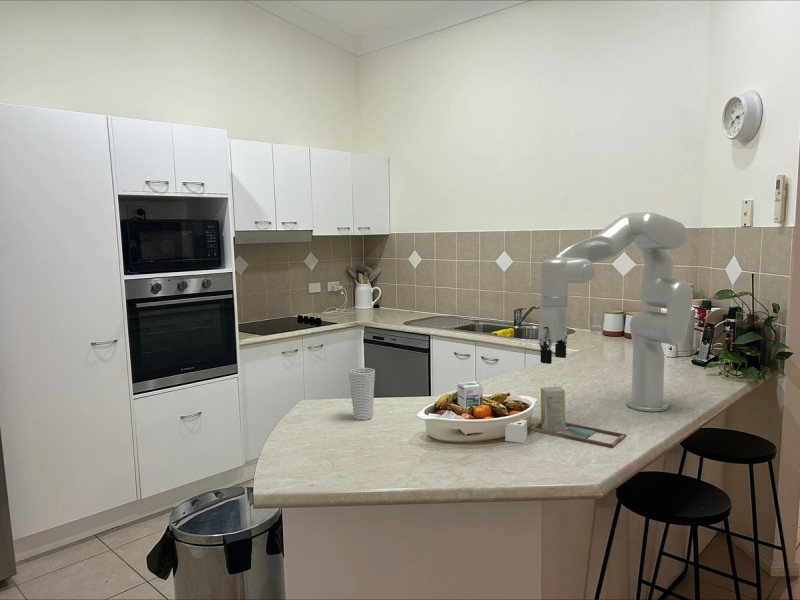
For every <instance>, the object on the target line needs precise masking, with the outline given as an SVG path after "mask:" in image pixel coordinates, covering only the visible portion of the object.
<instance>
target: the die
mask: <svg viewBox="0 0 800 600" xmlns="http://www.w3.org/2000/svg"><path fill="white" fill-rule="evenodd" d="M504 430H505V439H504V441H505V442H510V443H517V444H518V443H519V444H524V442H526V440H527V438H528V420H527V419H520V421H517V422H514V423H510V424H507V426H506V427H504Z"/></svg>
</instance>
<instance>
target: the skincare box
mask: <svg viewBox="0 0 800 600" xmlns="http://www.w3.org/2000/svg"><path fill="white" fill-rule="evenodd" d="M540 415H541V416H540V417H541V418H540V420H541V421H540V422H541V427H542V428H541V429H543V430H547V431H552V432H556V431H557V432H558V431H559V432H560V431H564V430H566V426H565V422H566V392H565V389H564V388H563V387H562V386H552V387H551V386H550V387H540Z"/></svg>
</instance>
